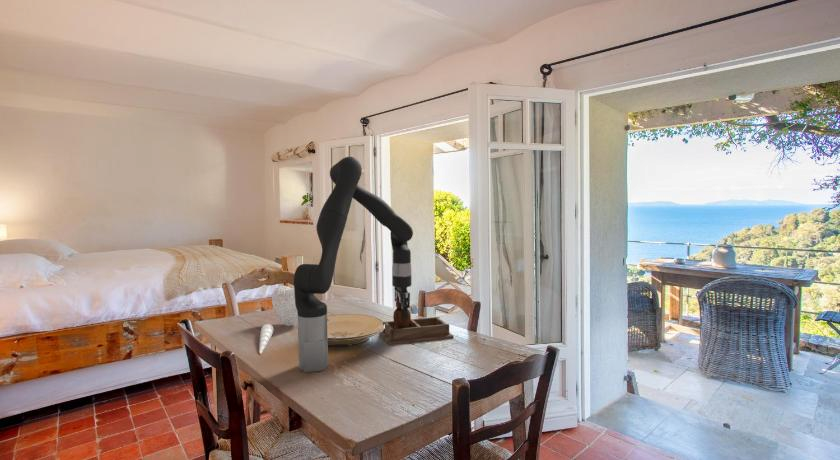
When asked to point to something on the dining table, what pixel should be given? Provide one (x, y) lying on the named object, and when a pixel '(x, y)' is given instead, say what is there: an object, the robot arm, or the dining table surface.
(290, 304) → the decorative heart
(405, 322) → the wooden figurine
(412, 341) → the brown divided wooden tray
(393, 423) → the dining table surface
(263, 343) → the unicorn horn
